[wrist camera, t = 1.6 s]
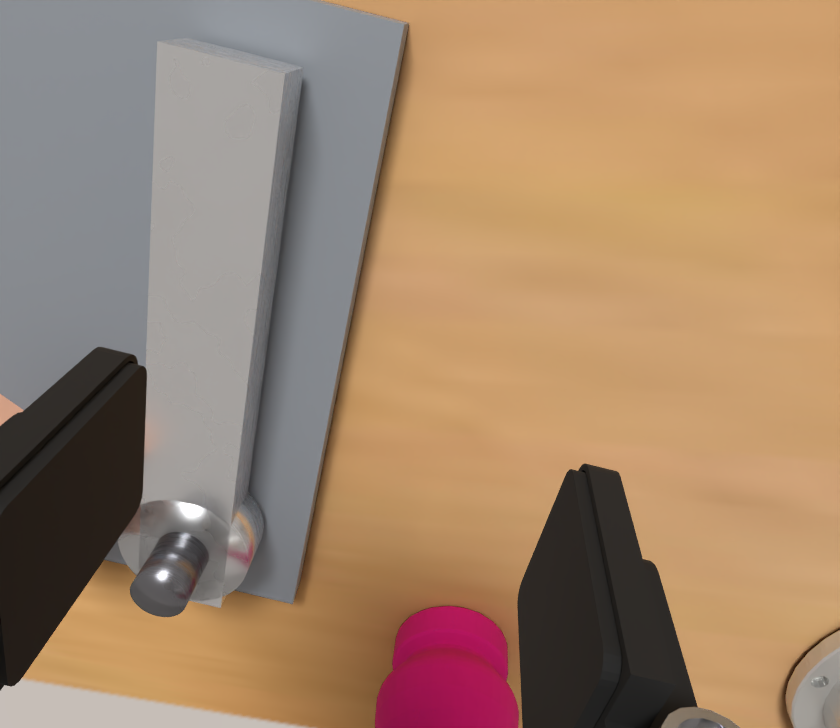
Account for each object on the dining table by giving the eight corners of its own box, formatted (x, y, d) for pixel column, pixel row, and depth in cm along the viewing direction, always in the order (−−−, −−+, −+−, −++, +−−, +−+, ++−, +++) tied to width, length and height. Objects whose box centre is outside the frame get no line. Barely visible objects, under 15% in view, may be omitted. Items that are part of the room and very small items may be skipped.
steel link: (256, 575, 35) (222, 659, 30) (140, 547, 34) (88, 628, 30) (332, 74, 23) (295, 91, 19) (158, 30, 23) (80, 36, 19)
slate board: (409, 23, 24) (404, 24, 23) (299, 582, 37) (292, 604, 36) (-331, -167, 23) (-379, -177, 22) (-174, 470, 37) (-199, 488, 35)
